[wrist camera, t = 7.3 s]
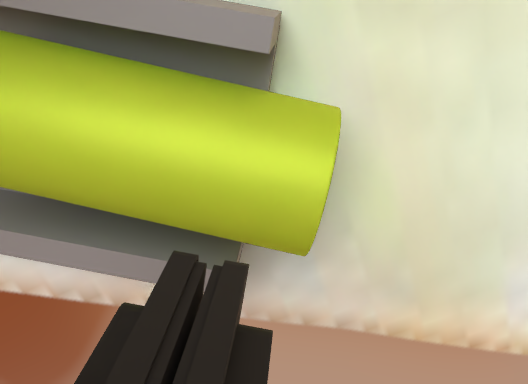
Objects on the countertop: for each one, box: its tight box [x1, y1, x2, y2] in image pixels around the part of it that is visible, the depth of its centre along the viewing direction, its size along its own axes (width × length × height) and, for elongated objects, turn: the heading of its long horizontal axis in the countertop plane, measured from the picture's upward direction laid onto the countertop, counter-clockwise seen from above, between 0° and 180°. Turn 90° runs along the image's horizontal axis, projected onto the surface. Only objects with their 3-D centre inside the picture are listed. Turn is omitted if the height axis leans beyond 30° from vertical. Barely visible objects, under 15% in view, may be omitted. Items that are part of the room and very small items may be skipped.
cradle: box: [0, 0, 282, 293], centre depth 21 cm, size 13×11×4 cm
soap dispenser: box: [0, 31, 341, 256], centre depth 20 cm, size 6×7×20 cm
